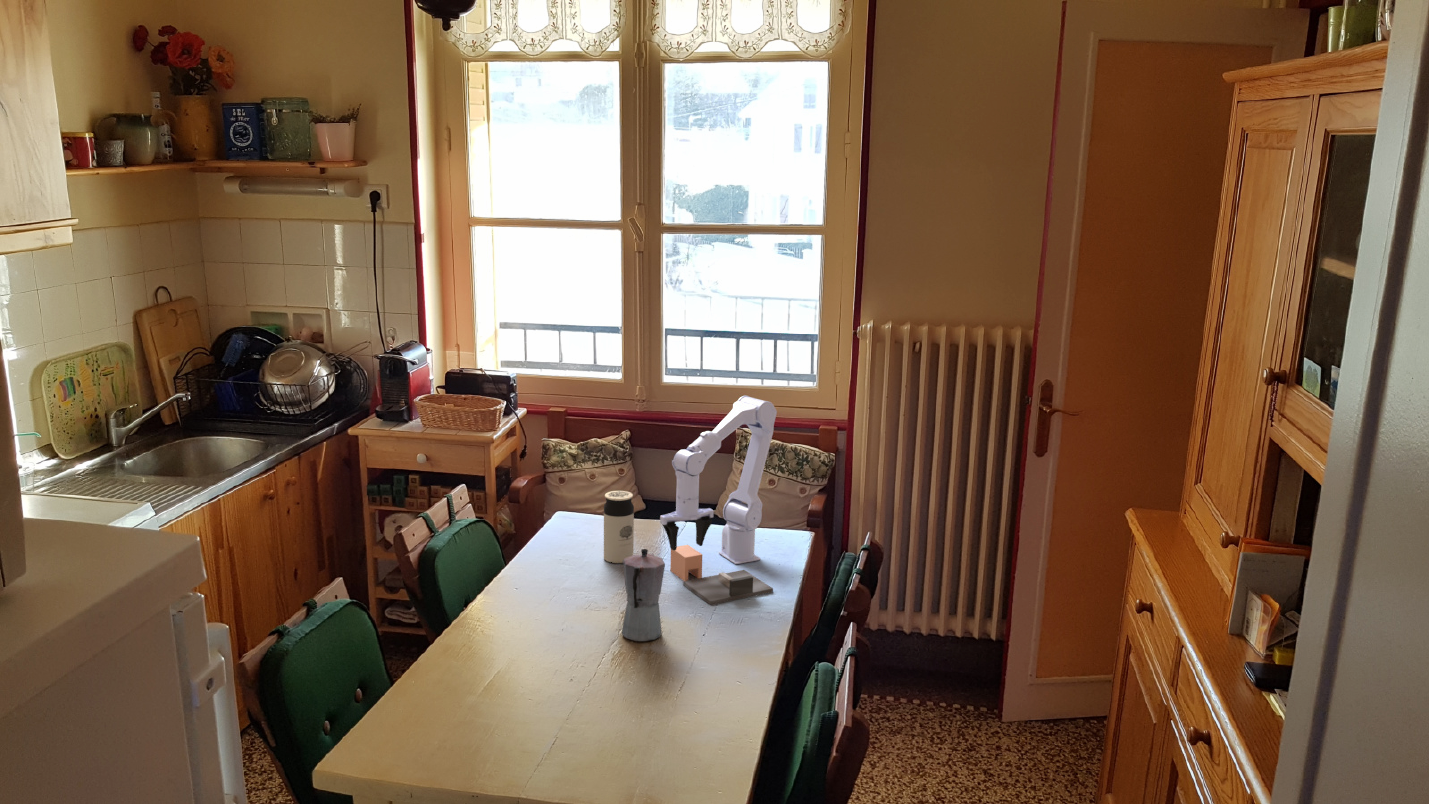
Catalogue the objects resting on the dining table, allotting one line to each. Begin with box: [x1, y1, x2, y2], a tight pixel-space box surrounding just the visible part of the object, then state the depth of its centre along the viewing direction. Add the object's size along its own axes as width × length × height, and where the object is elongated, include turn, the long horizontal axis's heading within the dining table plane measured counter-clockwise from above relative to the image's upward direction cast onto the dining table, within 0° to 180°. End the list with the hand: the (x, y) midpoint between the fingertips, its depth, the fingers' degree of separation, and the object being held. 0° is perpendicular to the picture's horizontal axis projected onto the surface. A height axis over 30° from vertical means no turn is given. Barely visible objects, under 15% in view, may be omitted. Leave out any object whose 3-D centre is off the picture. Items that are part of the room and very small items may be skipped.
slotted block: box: [669, 544, 703, 581], centre depth 271 cm, size 8×5×6 cm, turn 30°
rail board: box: [682, 569, 774, 606], centre depth 262 cm, size 14×18×5 cm
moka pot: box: [621, 548, 666, 642], centre depth 233 cm, size 10×15×20 cm, turn 174°
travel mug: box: [603, 490, 635, 564], centre depth 279 cm, size 8×8×18 cm
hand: (686, 546), depth 270 cm, fingers open, 7 cm apart
